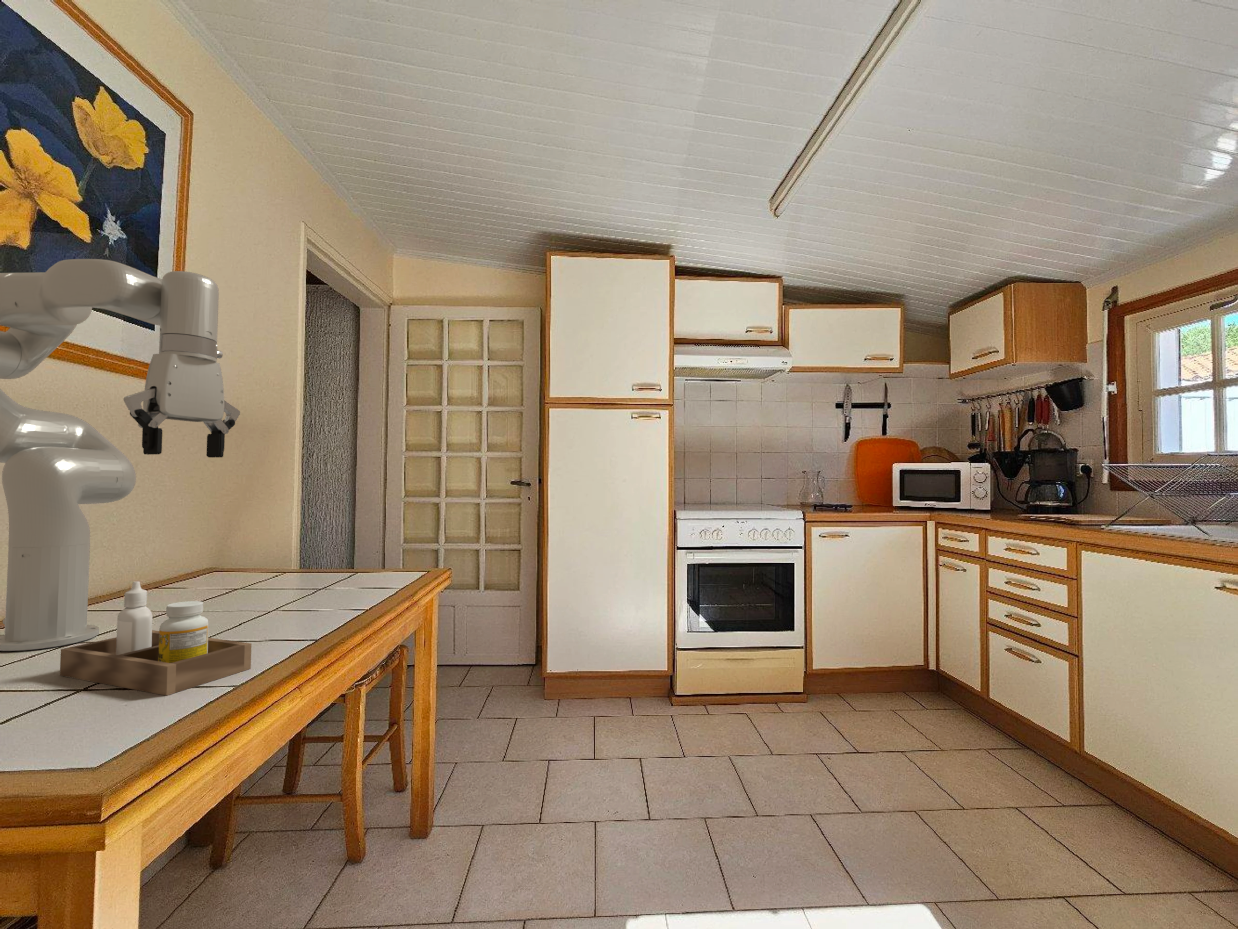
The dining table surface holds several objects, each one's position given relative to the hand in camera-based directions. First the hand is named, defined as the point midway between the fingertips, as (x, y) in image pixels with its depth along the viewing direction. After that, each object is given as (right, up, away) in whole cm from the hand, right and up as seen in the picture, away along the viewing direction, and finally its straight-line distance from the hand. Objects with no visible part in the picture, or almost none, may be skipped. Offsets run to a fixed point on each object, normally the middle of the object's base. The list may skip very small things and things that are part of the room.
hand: (185, 455), depth 93 cm
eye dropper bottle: (+2, -30, -12) cm, 33 cm away
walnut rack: (+7, -30, -14) cm, 34 cm away
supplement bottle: (+11, -30, -15) cm, 36 cm away
